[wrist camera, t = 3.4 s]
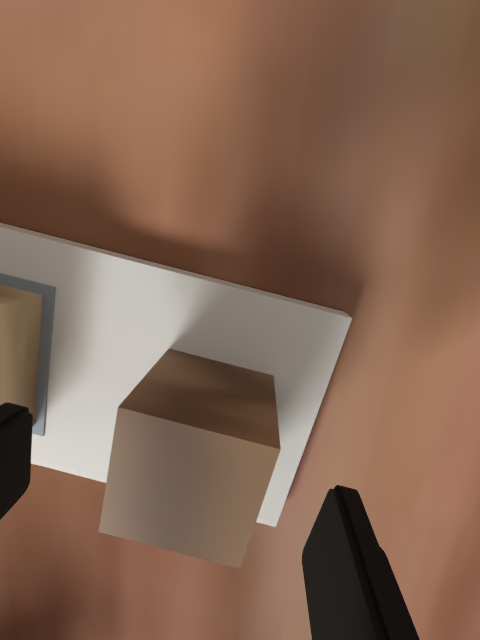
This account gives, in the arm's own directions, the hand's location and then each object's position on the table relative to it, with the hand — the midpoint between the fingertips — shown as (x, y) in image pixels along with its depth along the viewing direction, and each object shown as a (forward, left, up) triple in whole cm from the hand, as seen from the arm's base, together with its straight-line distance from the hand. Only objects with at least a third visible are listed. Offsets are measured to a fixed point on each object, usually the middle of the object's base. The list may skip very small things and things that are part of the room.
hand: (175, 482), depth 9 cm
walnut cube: (0, +1, -5) cm, 5 cm away
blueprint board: (+6, +1, -6) cm, 9 cm away
